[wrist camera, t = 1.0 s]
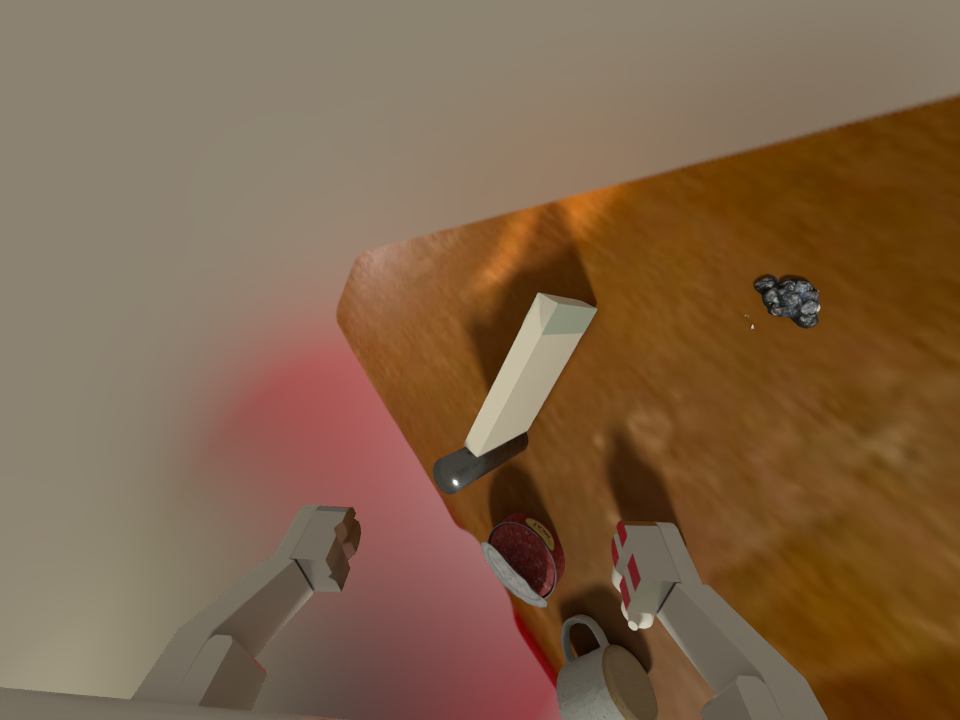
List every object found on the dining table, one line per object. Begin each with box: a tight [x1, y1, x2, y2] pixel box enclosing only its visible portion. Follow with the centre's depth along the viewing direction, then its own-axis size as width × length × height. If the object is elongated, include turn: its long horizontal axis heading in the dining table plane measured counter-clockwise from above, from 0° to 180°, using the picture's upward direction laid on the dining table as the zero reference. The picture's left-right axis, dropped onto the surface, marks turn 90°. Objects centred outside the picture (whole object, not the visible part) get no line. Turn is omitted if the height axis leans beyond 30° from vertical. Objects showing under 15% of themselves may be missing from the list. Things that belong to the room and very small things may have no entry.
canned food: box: [482, 513, 565, 608], centre depth 43 cm, size 11×10×10 cm
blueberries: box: [744, 276, 820, 329], centre depth 29 cm, size 7×8×2 cm
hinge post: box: [433, 432, 528, 494], centre depth 39 cm, size 4×4×14 cm
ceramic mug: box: [557, 614, 658, 720], centre depth 37 cm, size 11×8×8 cm
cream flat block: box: [464, 292, 597, 457], centre depth 36 cm, size 17×2×11 cm, turn 152°
